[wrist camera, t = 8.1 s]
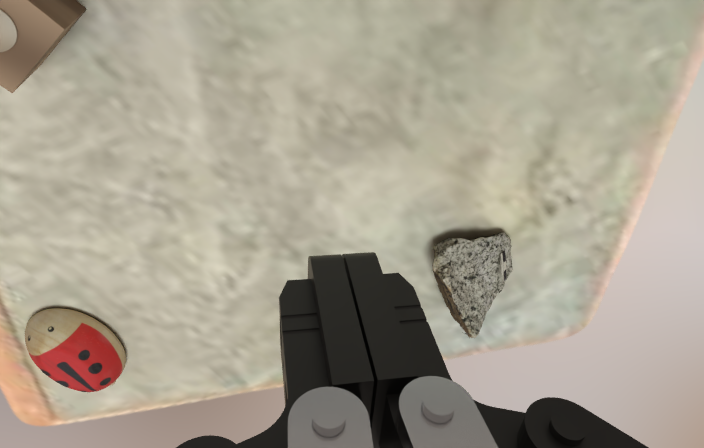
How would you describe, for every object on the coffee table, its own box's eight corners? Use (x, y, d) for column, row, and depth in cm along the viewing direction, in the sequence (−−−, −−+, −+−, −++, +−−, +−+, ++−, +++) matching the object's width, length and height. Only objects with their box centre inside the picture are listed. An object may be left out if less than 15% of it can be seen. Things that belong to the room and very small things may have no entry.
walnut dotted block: (6, -60, 29) (-34, -47, 25) (86, 8, 32) (63, 30, 28) (-42, 5, 31) (-87, 27, 27) (40, 65, 33) (10, 94, 29)
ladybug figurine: (71, 290, 44) (59, 320, 41) (148, 355, 49) (142, 386, 46) (7, 324, 44) (-10, 356, 42) (90, 384, 50) (81, 416, 47)
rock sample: (558, 290, 48) (515, 350, 43) (491, 296, 54) (446, 349, 49) (508, 193, 46) (457, 243, 41) (445, 211, 52) (394, 256, 47)
